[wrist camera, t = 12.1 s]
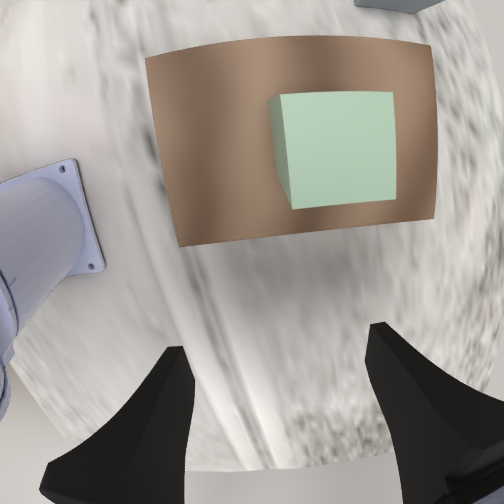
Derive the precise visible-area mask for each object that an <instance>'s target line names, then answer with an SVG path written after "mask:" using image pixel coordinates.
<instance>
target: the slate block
mask: <svg viewBox="0 0 504 504" xmlns="http://www.w3.org/2000/svg"><path fill="white" fill-rule="evenodd" d="M443 1H445V0H354V4H355V6H359V7H369V8H377V9H385V10H391V11H398V12H404V13H409V14H414V13H416V12H418V11H421V10H423V9H425V8H428V7H430V6H433V5H435V4H438V3H440V2H443Z"/></svg>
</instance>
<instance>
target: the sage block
mask: <svg viewBox="0 0 504 504" xmlns="http://www.w3.org/2000/svg"><path fill="white" fill-rule="evenodd" d="M268 106H269V114H270V122H271V130H272V138H273V147H274V155H275V164H276V173H277V176H278V178H279V180H280V183H281V185H282V187H283V189H284V192H285V194H286V196H287V198H288V201H289V203H290V205H291V208H292V209H301V208H310V207H319V206H329V205H339V204H349V203H359V202H370V201H381V200H393V199H396V133H395V115H394V101H393V92H373V91H336V92H310V93H294V94H281V95H278V96H276V97H273V98H271V99H269V100H268Z"/></svg>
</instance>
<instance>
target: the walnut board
mask: <svg viewBox="0 0 504 504" xmlns="http://www.w3.org/2000/svg"><path fill="white" fill-rule="evenodd" d="M145 63H146V71H147V79H148V86H149V93H150V100H151V106H152V113H153V119H154V125H155V131H156V137H157V143H158V148H159V154H160V159H161V165H162V170H163V175H164V180H165V185H166V190H167V195H168V200H169V205H170V209H171V214H172V218H173V223H174V227H175V232H176V236H177V240H178V245H179V247H185V246H194V245H202V244H210V243H218V242H226V241H235V240H243V239H252V238H260V237H269V236H278V235H286V234H295V233H304V232H313V231H322V230H331V229H340V228H350V227H359V226H369V225H378V224H388V223H398V222H408V221H418V220H428V219H434V213H435V201H436V186H437V160H438V128H437V103H436V89H435V77H434V68H433V59H432V52H431V46H430V45H424V44H418V43H412V42H405V41H397V40H389V39H380V38H368V37H353V36H283V37H268V38H256V39H246V40H237V41H230V42H222V43H216V44H210V45H204V46H198V47H193V48H188V49H183V50H178V51H173V52H169V53H165V54H160V55H156V56H152V57H149V58H145ZM336 91H373V92H393V101H394V115H395V133H396V199H393V200H381V201H370V202H359V203H349V204H339V205H329V206H319V207H310V208H301V209H292V208H291V205H290V203H289V201H288V198H287V196H286V194H285V192H284V189H283V187H282V185H281V183H280V180H279V178H278V176H277V173H276V164H275V155H274V147H273V138H272V130H271V122H270V114H269V106H268V100H269V99H271V98H273V97H276V96H278V95H281V94H294V93H310V92H336Z"/></svg>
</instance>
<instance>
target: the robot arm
mask: <svg viewBox="0 0 504 504" xmlns="http://www.w3.org/2000/svg"><path fill="white" fill-rule="evenodd" d="M62 166H65V172H64V171H63V169H62ZM90 264H93V265H94V267H92V266H91V265H90ZM104 268H105V262H104V259H103V256H102V253H101V250H100V247H99V244H98V241H97V238H96V235H95V231H94V228H93V225H92V221H91V218H90V214H89V211H88V207H87V203H86V200H85V196H84V192H83V188H82V184H81V180H80V176H79V171H78V167H77V163H76V161H75V160H74V159H67V160H64V161H61V162H58V163H55V164H52V165H49V166H46V167H43V168H40V169H37V170H35V171H32V172H29V173H26V174H24V175H21V176H18V177H16V178H13V179H11V180H8V181H6V182H3V183H1V184H0V421H1V420H2V418H3V417H4V415H5V413H6V411H7V408H8V405H9V402H10V397H11V383H10V378H9V375H8V372H7V370H6V366H7V365H8V363H9V362H10V360H11V359H12V357H13V356H14V354H15V353H14V350H13V341H14V339H15V337H16V336H17V335H18V333H19V332H20V331H21V329H22V328H23V327H24V326H25V324H26V323H27V322H28V320H29V319H30V318H31V316H32V315H33V314H34V313H35V311H36V310H37V309H38V308H39V306H40V305H41V304H42V303H43V301H44V300H45V299H46V298H47V297H48V295H49V294H50V293H51V292H52V291H53V289H54V288H55V287H56V286H57V285H58V284H59V282H60V281H61V280H62V279H63V278H64V277H65V276H69V275H78V274H87V273H96V272H101V271H102V270H103V269H104ZM365 364H366V368H367V372H368V375H369V379H370V383H371V385H372V388H373V390H374V393H375V395H376V398H377V400H378V402H379V405H380V407H381V410H382V412H383V415H384V417H385V420H386V423H387V425H388V428H389V431H390V434H391V438H392V442H393V446H394V450H395V454H396V459H397V465H398V470H399V476H400V482H401V489H402V498H403V504H504V401H501V400H498V399H496V398H493V397H491V396H488V395H486V394H484V393H481V392H479V391H477V390H475V389H473V388H471V387H469V386H467V385H466V384H464V383H462V382H460V381H459V380H457V379H455V378H454V377H452V376H451V375H449V374H447V373H446V372H444V371H443V370H442V369H440V368H439V367H437V366H436V365H435V364H433V363H432V362H431V361H429V360H428V359H427V358H426V357H424V356H423V355H422V354H421V353H420V352H418V351H417V350H416V349H415V348H414V347H412V346H411V345H410V344H409V343H408V342H407V341H406V340H405V339H403V338H402V337H401V336H400V335H399V334H398V333H397V332H396V331H395V330H393V329H392V328H391V327H390V326H389V325H388V324H387V323H386V322H380V323H375V324H370V330H369V337H368V343H367V350H366V356H365ZM194 398H195V378H194V376H193V373H192V370H191V368H190V365H189V362H188V359H187V357H186V354H185V351H184V348H183V346H173V347H167V348H166V350H165V351H164V353H163V354H162V355H161V357H160V358H159V360H158V361H157V363H156V364H155V366H154V367H153V368H152V370H151V371H150V373H149V374H148V375H147V377H146V378H145V379H144V381H143V382H142V383H141V385H140V386H139V387H138V389H137V390H136V391H135V392H134V394H133V395H132V396H131V397H130V399H129V400H128V401H127V402H126V403H125V404H124V406H123V407H122V408H121V409H120V410H119V411H118V412H117V413H116V414H115V415H114V416H113V417H112V418H111V419H110V420H109V421H108V422H107V423H106V424H105V425H104V426H102V427H101V428H100V429H99V430H98V431H97V432H95V433H94V434H93V435H92V436H91V437H89V438H88V439H87V440H85V441H84V442H83V443H81V444H80V445H78V446H77V447H75V448H74V449H72V450H71V451H69V452H67V453H66V454H64V455H62V456H61V457H58V458H57V459H55V460H53V461H51V462H49V463H48V465H47V467H46V471H45V473H44V476H43V478H42V481H41V484H40V488H39V490H40V492H41V494H42V495H44V496H45V497H46V498H47V499H49V500H51V501H52V502H53V503H55V504H184V475H185V455H186V448H187V442H188V436H189V430H190V425H191V419H192V413H193V407H194Z"/></svg>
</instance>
